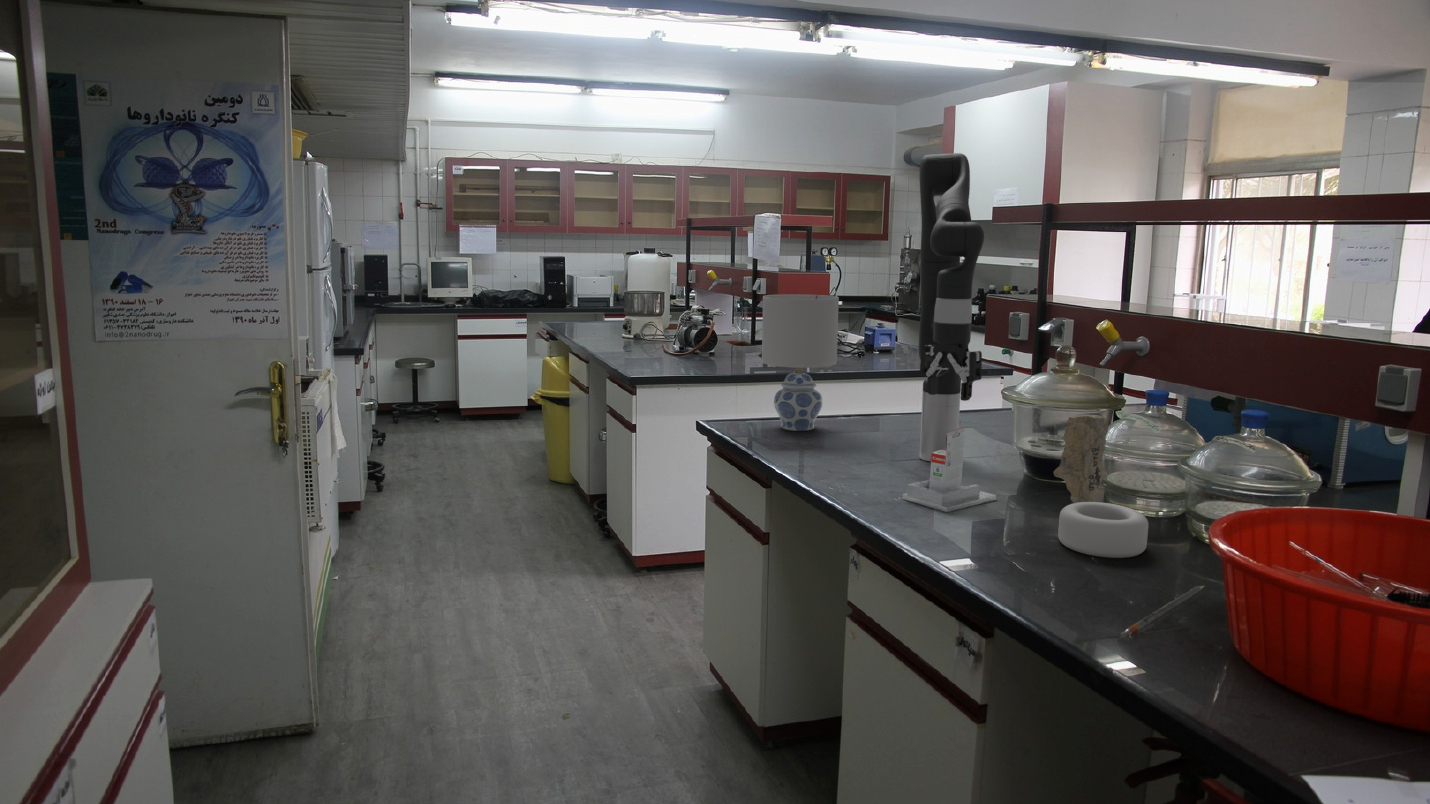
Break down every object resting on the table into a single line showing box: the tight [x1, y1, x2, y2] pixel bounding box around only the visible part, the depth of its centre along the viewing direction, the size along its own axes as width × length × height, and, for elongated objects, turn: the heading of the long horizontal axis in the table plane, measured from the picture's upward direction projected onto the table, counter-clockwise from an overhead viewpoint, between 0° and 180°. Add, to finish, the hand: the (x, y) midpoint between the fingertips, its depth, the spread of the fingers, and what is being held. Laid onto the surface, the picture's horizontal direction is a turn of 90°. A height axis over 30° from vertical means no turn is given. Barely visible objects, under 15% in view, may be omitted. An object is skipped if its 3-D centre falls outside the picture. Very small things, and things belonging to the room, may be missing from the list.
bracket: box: [902, 479, 997, 513], centre depth 200 cm, size 16×12×4 cm
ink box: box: [929, 426, 965, 492], centre depth 199 cm, size 4×8×15 cm, turn 138°
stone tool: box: [1053, 414, 1109, 504], centre depth 193 cm, size 12×6×20 cm, turn 96°
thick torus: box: [1057, 501, 1149, 559], centre depth 171 cm, size 15×15×7 cm
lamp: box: [761, 293, 840, 432], centre depth 270 cm, size 22×22×38 cm
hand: (948, 397), depth 197 cm, fingers open, 8 cm apart
